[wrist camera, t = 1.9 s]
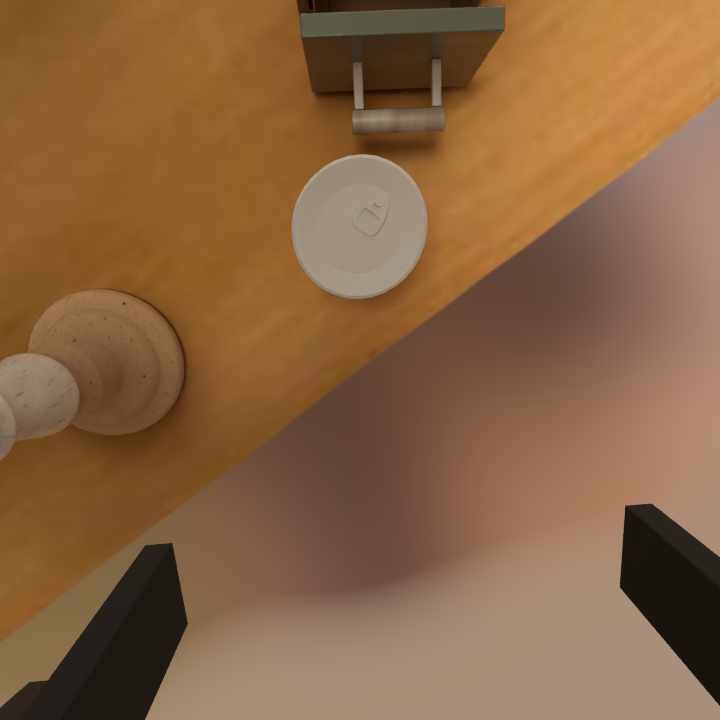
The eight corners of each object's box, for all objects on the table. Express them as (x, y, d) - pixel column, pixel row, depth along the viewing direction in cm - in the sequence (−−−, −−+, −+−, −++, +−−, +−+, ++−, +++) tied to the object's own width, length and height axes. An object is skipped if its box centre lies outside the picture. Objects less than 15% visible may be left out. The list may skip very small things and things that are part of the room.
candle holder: (208, 407, 37) (53, 567, 18) (76, 447, 38) (-220, 648, 18) (152, 269, 35) (-105, 275, 15) (10, 314, 35) (-421, 377, 15)
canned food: (417, 207, 34) (449, 180, 23) (383, 302, 36) (399, 319, 25) (325, 173, 33) (315, 130, 23) (295, 272, 35) (272, 275, 24)
